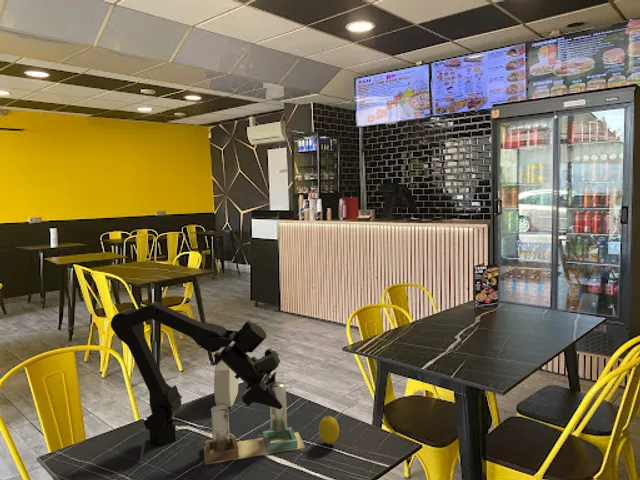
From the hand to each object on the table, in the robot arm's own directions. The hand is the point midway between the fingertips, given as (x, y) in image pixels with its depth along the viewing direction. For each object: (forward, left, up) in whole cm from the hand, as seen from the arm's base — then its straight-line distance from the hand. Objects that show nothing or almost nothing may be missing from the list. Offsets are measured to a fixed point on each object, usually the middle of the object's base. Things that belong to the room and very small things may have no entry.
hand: (283, 404), depth 134 cm
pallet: (-8, +1, -12) cm, 14 cm away
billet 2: (-1, +1, -7) cm, 7 cm away
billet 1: (-17, +1, -11) cm, 20 cm away
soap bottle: (-12, +37, -12) cm, 40 cm away
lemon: (+12, -2, -12) cm, 17 cm away
